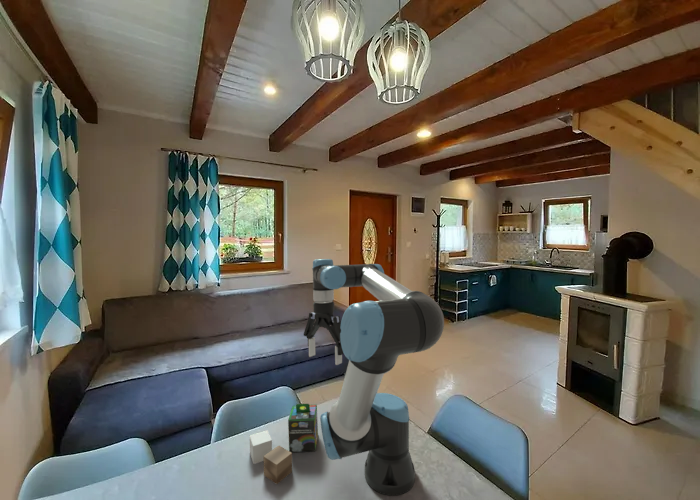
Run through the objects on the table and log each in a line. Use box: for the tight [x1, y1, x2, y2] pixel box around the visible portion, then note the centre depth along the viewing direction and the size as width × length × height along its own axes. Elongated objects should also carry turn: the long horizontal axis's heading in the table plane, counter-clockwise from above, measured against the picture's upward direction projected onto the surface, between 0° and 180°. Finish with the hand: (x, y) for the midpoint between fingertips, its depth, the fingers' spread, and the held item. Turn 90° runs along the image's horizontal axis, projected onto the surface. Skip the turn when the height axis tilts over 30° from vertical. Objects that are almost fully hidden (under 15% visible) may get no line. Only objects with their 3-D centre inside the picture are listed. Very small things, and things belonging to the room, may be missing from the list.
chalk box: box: [287, 403, 319, 453], centre depth 105 cm, size 9×9×15 cm
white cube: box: [249, 429, 273, 465], centre depth 99 cm, size 6×6×6 cm
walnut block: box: [263, 445, 293, 485], centre depth 91 cm, size 6×6×6 cm
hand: (324, 359), depth 109 cm, fingers open, 13 cm apart
